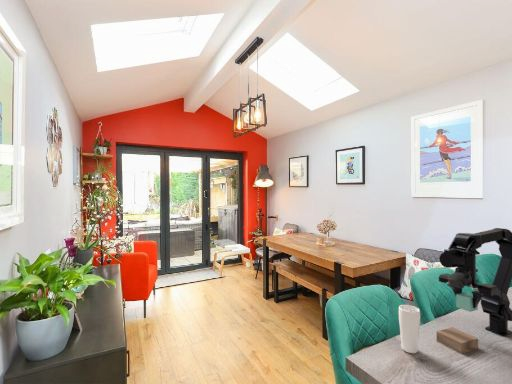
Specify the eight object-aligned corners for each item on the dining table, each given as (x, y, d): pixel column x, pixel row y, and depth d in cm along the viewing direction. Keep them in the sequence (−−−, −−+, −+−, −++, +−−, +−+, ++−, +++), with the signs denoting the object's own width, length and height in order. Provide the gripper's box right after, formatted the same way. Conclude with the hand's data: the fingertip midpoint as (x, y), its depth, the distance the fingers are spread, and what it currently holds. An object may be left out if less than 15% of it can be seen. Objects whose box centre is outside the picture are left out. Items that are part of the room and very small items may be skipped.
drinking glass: (423, 356, 95) (423, 313, 95) (402, 354, 97) (401, 311, 97) (416, 345, 102) (415, 305, 102) (396, 343, 103) (396, 303, 103)
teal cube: (463, 304, 111) (463, 292, 112) (477, 309, 107) (477, 296, 107) (456, 306, 109) (456, 294, 109) (470, 311, 105) (470, 298, 105)
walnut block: (452, 337, 108) (452, 327, 108) (478, 349, 100) (477, 338, 100) (436, 341, 105) (436, 331, 105) (461, 354, 97) (461, 343, 97)
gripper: (429, 262, 114) (430, 300, 113) (482, 274, 97) (482, 319, 96) (446, 259, 118) (447, 296, 118) (499, 271, 101) (500, 313, 101)
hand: (466, 305), depth 108 cm, fingers closed on teal cube, 5 cm apart
